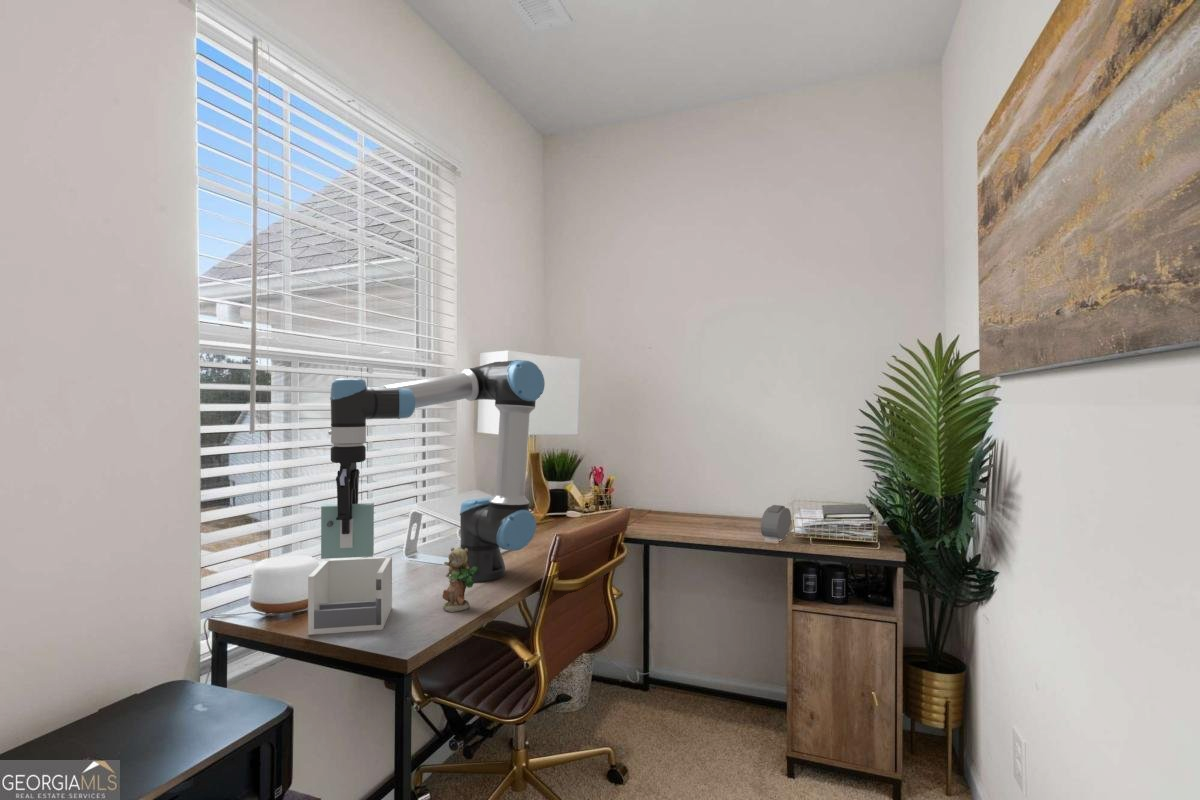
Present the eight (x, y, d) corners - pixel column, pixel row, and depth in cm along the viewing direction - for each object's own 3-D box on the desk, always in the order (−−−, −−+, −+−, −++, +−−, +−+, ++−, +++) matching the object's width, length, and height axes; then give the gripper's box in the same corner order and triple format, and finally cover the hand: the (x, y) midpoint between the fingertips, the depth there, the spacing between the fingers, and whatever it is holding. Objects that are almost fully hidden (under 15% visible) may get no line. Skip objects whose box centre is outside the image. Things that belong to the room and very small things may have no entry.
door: (373, 553, 141) (373, 503, 141) (370, 557, 137) (371, 505, 137) (323, 556, 139) (324, 504, 139) (319, 560, 135) (320, 507, 135)
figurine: (435, 609, 151) (435, 550, 151) (456, 600, 158) (456, 544, 158) (463, 615, 147) (463, 555, 146) (483, 606, 153) (483, 548, 153)
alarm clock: (775, 532, 239) (775, 500, 239) (791, 534, 236) (791, 501, 236) (760, 544, 219) (760, 509, 219) (777, 546, 216) (777, 511, 216)
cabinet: (391, 607, 152) (392, 556, 152) (382, 630, 137) (382, 573, 137) (324, 612, 149) (324, 559, 149) (307, 635, 134) (307, 576, 134)
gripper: (339, 442, 145) (338, 538, 145) (322, 447, 130) (321, 555, 130) (371, 442, 147) (371, 537, 147) (358, 447, 132) (358, 553, 132)
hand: (348, 545), depth 139 cm, fingers closed on door, 2 cm apart
